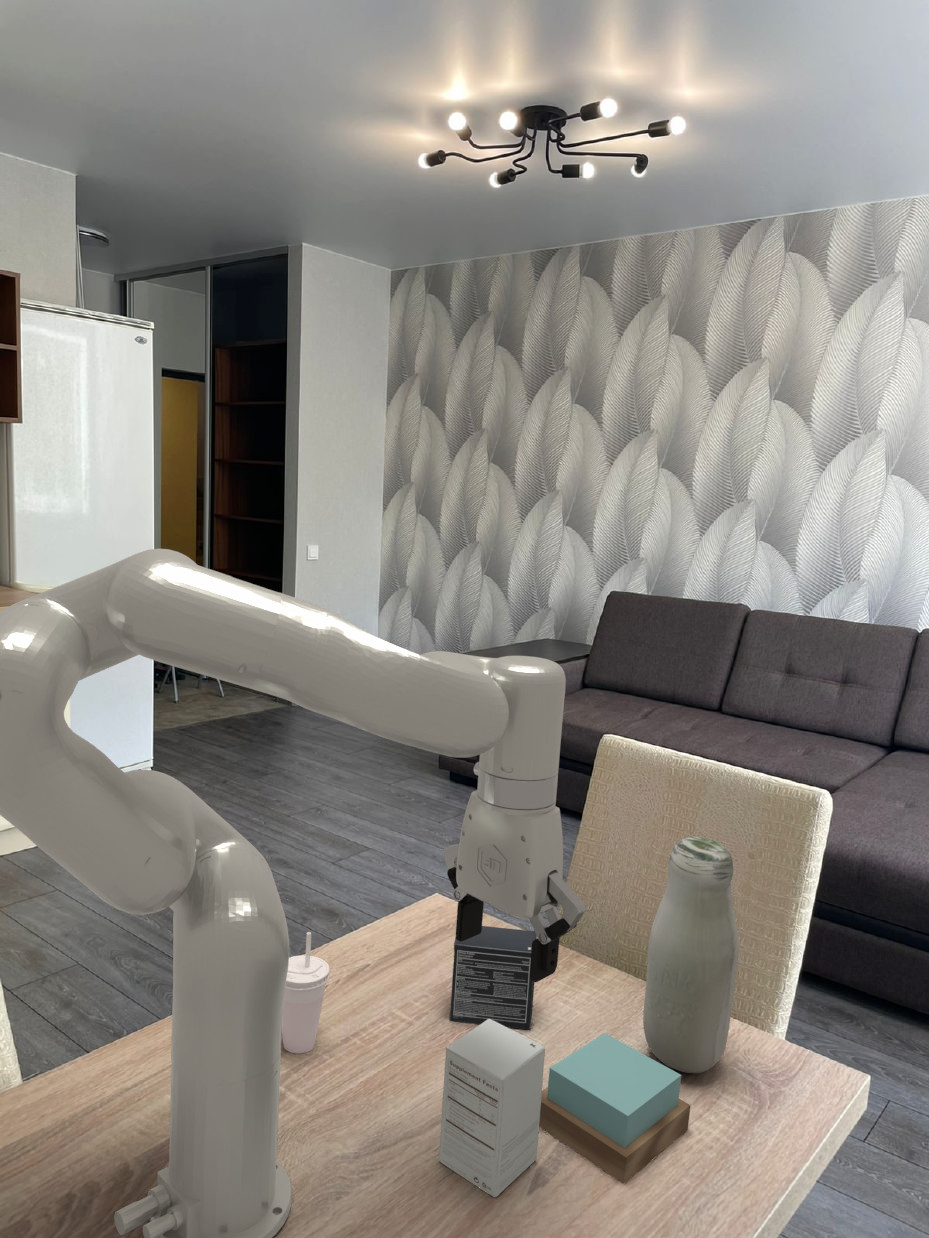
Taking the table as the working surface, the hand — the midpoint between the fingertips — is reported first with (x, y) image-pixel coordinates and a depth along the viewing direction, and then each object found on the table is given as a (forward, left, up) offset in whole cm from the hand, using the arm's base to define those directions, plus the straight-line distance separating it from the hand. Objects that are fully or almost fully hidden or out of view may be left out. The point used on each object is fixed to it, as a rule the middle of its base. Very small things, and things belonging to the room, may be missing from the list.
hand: (504, 955), depth 90 cm
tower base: (+14, -5, -23) cm, 27 cm away
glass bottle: (+30, -4, -22) cm, 37 cm away
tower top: (+14, -5, -19) cm, 24 cm away
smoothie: (-3, +28, -22) cm, 36 cm away
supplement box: (0, 0, -22) cm, 22 cm away
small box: (+20, +18, -22) cm, 35 cm away
